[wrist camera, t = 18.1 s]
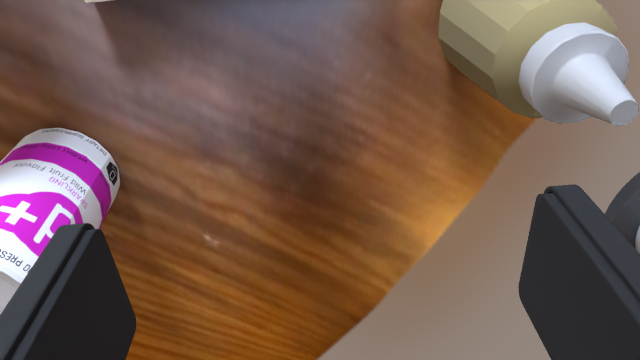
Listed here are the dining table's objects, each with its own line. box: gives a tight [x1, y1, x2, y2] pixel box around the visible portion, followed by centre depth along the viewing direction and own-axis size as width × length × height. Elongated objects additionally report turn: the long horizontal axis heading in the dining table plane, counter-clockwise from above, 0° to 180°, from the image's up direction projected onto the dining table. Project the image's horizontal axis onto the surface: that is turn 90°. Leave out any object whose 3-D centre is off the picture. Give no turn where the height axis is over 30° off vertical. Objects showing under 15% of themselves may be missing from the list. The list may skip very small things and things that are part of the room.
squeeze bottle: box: [438, 0, 639, 126], centre depth 28 cm, size 8×8×18 cm
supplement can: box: [0, 128, 120, 314], centre depth 34 cm, size 8×8×15 cm
